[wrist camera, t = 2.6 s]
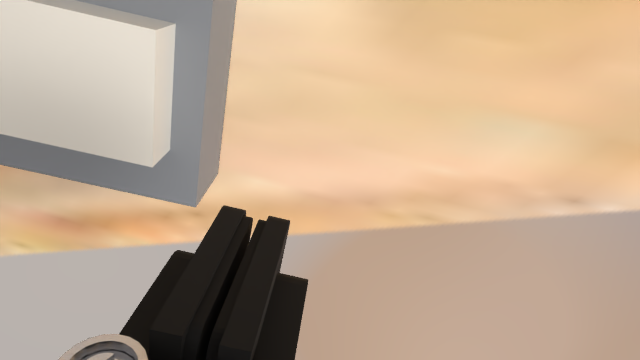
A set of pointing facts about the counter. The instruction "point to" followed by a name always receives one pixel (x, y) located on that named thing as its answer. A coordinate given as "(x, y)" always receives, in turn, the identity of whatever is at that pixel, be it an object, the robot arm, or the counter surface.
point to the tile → (86, 78)
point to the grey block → (186, 121)
